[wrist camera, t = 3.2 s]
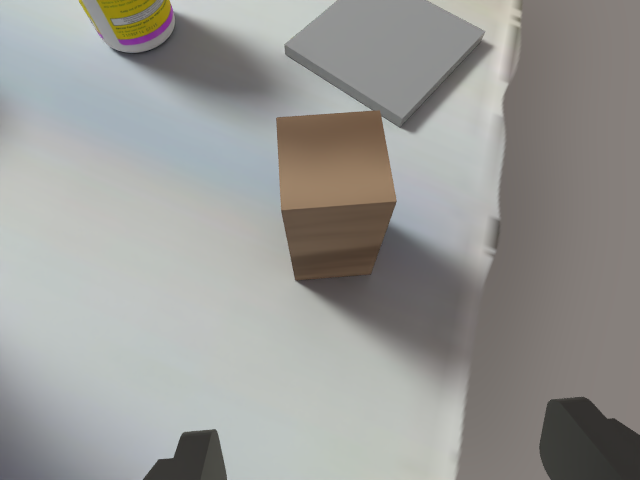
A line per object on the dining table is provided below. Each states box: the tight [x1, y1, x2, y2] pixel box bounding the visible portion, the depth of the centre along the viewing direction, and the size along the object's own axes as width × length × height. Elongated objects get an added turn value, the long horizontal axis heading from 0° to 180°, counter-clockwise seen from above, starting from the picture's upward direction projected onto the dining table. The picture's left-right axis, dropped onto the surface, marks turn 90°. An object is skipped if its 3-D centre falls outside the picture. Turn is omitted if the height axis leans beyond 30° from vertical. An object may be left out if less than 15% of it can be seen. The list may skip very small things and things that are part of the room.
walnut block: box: [276, 110, 397, 281], centre depth 23 cm, size 5×5×10 cm
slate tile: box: [285, 0, 485, 127], centre depth 34 cm, size 12×12×1 cm
